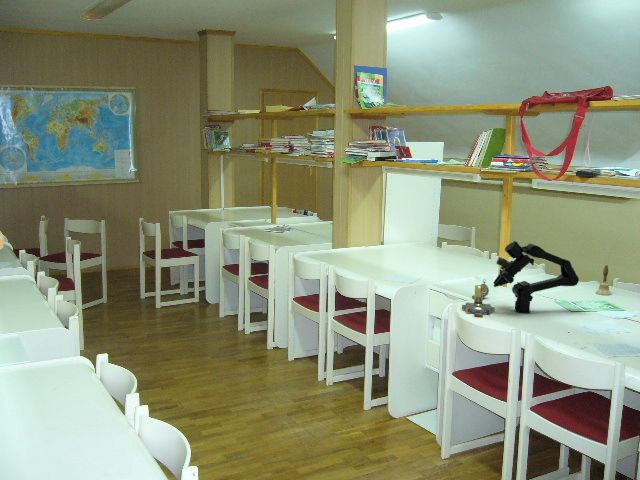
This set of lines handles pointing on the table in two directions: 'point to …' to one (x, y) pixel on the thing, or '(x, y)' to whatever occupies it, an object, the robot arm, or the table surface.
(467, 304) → the sprocket
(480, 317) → the pointer
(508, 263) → the robot arm
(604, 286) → the hand bell
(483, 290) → the pocket watch
